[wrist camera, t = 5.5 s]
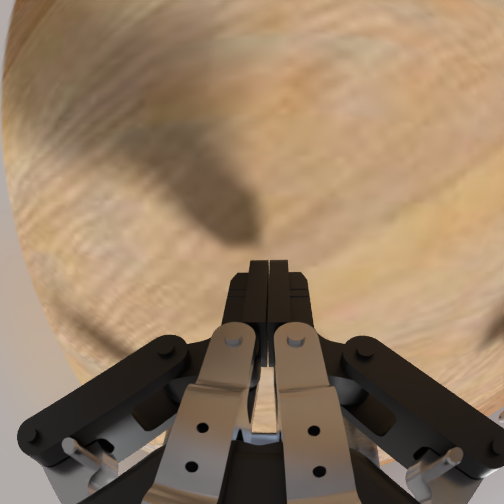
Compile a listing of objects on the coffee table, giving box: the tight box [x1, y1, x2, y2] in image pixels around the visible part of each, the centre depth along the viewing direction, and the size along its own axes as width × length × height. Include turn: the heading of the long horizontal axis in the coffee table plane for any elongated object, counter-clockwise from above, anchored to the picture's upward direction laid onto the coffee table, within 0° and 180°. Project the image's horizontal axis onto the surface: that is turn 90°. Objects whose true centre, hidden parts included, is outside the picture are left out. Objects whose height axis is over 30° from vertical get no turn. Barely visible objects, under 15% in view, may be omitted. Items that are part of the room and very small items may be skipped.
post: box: [342, 416, 380, 468], centre depth 15 cm, size 3×3×9 cm
